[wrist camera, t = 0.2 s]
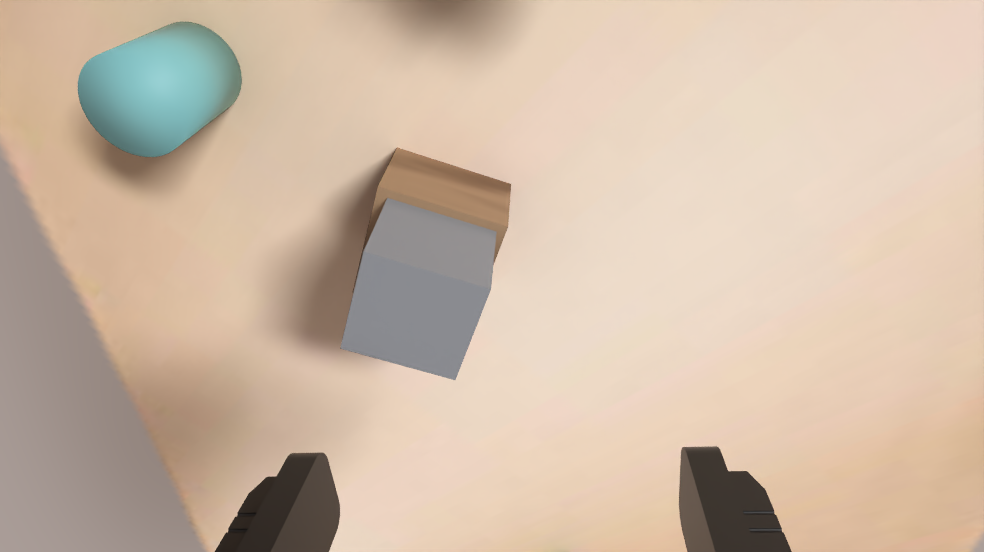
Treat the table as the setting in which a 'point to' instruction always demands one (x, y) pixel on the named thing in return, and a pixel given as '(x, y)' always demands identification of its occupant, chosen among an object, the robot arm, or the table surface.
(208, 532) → the table surface
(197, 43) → the teal pill shape
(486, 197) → the tower base
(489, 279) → the tower top
